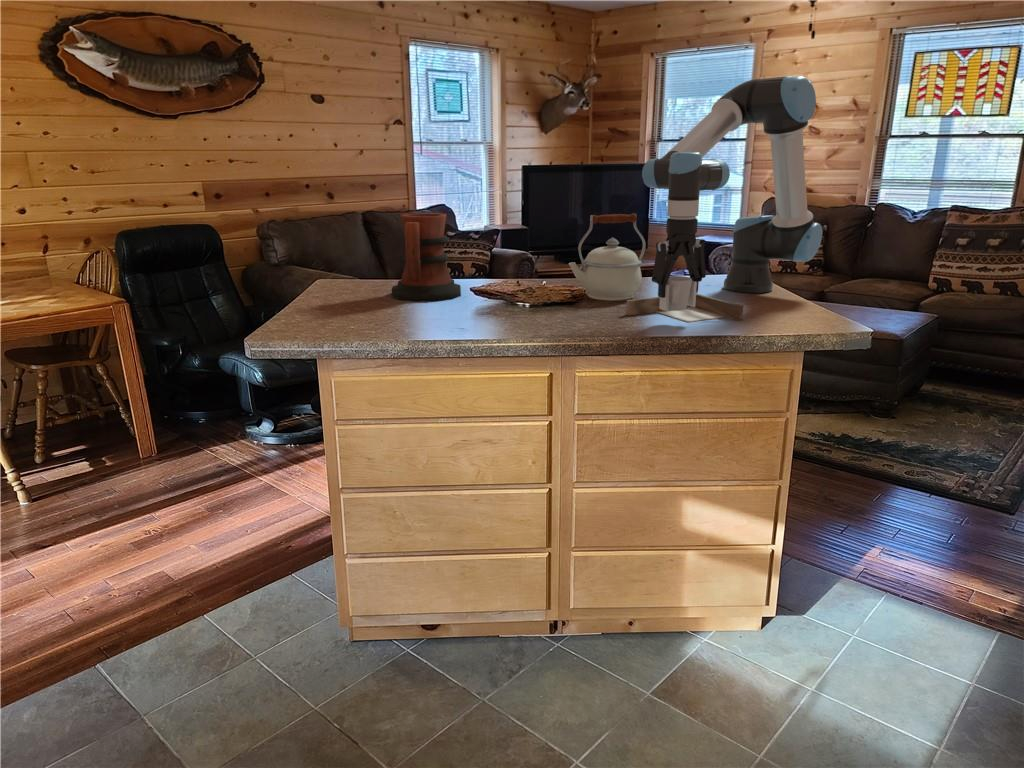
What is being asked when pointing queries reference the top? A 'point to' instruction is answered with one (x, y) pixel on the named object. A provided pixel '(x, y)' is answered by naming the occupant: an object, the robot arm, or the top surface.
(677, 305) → the cup
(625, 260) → the kettle
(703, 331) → the top surface
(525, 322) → the top surface
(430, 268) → the tankard
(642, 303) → the wooden corner frame
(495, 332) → the top surface
